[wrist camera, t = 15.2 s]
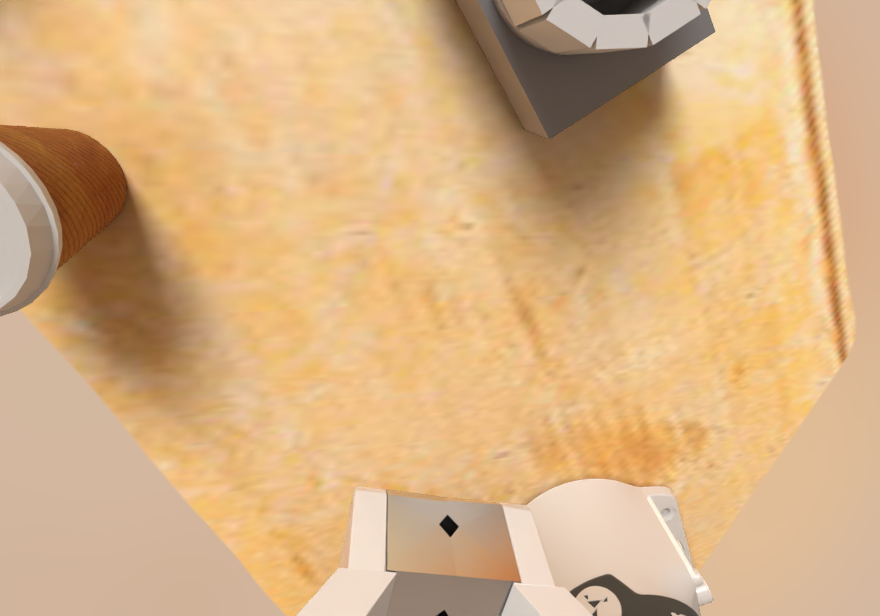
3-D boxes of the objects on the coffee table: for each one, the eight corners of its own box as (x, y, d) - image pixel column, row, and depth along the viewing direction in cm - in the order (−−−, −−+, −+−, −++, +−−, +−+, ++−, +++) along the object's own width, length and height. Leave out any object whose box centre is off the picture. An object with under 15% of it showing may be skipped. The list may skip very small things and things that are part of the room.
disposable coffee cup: (184, 210, 35) (90, 270, 24) (68, 276, 36) (-73, 362, 25) (81, 70, 31) (-87, 65, 20) (-45, 147, 32) (-269, 183, 21)
